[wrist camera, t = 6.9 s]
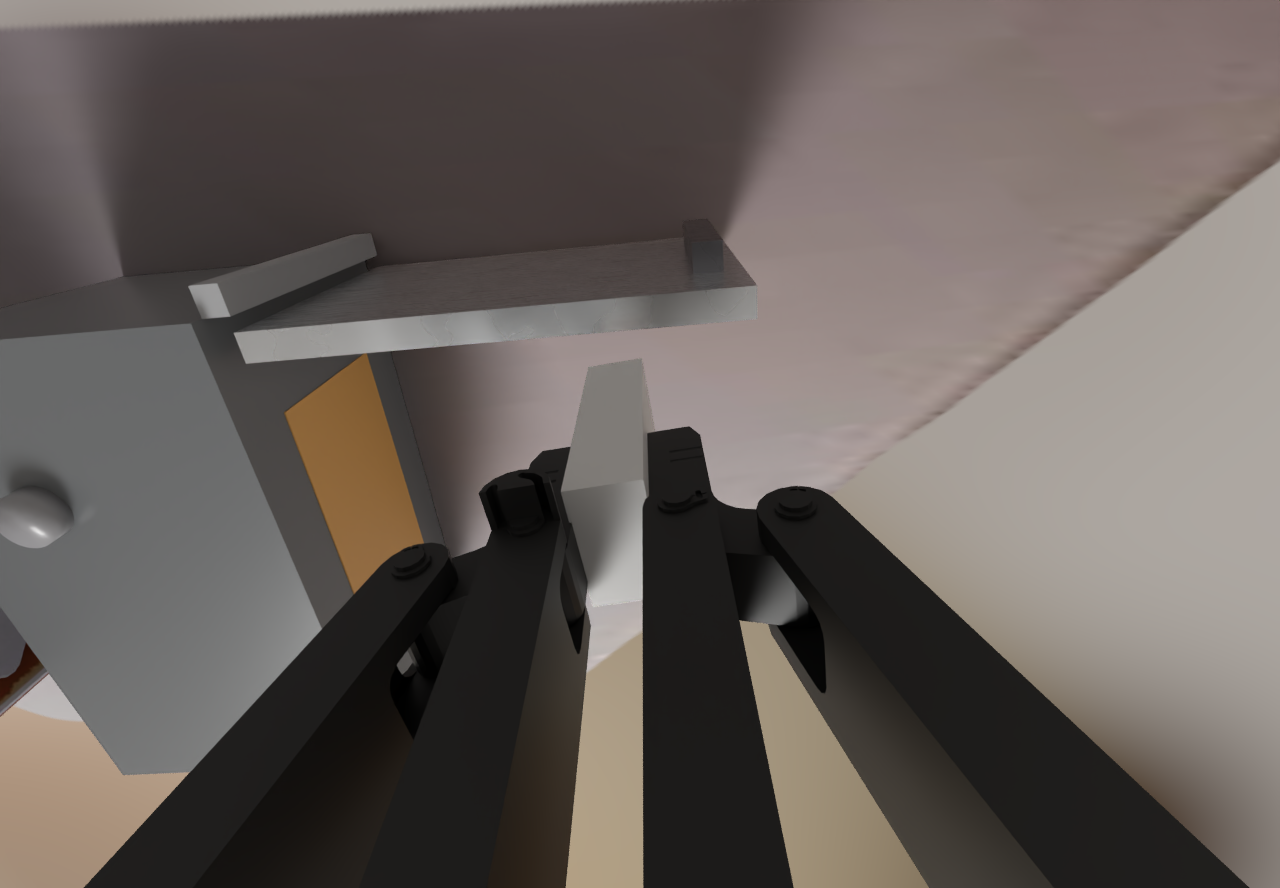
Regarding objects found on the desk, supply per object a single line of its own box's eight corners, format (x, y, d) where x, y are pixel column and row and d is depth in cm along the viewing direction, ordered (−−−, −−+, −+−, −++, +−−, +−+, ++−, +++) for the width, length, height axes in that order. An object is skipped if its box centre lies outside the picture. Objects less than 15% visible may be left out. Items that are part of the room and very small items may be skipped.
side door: (719, 256, 28) (757, 319, 18) (383, 287, 29) (246, 363, 19) (717, 210, 27) (756, 250, 17) (371, 244, 28) (220, 300, 18)
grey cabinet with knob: (286, 629, 39) (137, 828, 28) (112, 255, 29) (-243, 330, 17) (479, 617, 39) (408, 817, 27) (375, 231, 28) (186, 293, 17)
